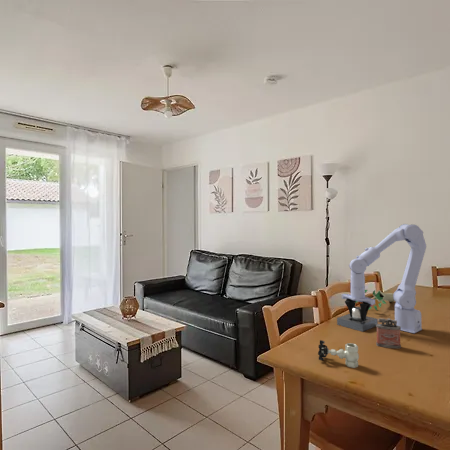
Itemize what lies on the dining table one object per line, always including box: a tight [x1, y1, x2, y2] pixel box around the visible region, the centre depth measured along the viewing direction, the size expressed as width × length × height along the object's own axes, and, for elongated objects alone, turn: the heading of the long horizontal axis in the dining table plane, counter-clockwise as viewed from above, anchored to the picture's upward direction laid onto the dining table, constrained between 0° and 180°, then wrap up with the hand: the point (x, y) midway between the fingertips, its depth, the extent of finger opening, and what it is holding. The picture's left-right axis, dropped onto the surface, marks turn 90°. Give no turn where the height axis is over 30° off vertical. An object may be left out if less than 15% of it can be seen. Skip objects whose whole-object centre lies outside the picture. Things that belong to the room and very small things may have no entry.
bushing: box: [352, 306, 363, 322], centre depth 141 cm, size 4×4×7 cm
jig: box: [336, 313, 379, 333], centre depth 143 cm, size 12×12×3 cm
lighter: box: [375, 317, 402, 349], centre depth 119 cm, size 8×3×10 cm, turn 71°
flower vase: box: [355, 289, 395, 311], centre depth 170 cm, size 12×12×35 cm
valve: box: [317, 339, 360, 369], centre depth 106 cm, size 7×7×12 cm
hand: (358, 317), depth 141 cm, fingers open, 5 cm apart
